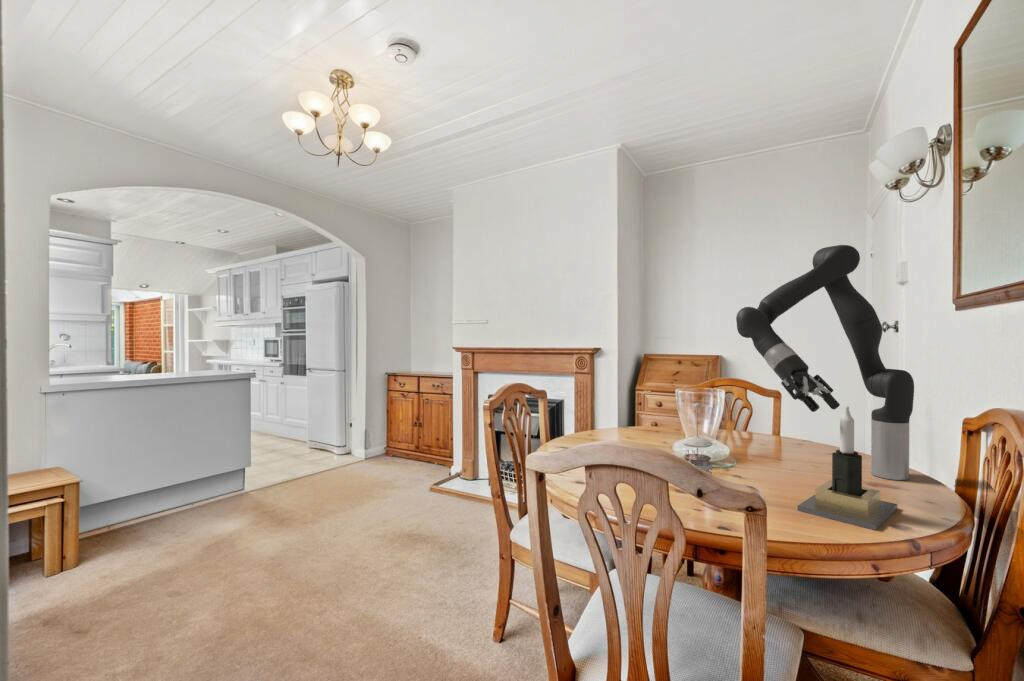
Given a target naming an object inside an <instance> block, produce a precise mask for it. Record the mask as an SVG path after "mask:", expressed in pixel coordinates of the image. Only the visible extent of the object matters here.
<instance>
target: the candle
mask: <svg viewBox="0 0 1024 681" xmlns="http://www.w3.org/2000/svg"><path fill="white" fill-rule="evenodd" d="M844 408H845V410H844V412H843V414H842V416H841V417H840V418H839V449H836V450H835V451H834V452H832V453H831V455H832V456H831V458H832V459H831V461H832V462H831V468H832V469H831V476H832V477H831V481H832V491H837V492H841V493H846V494H850V495H855V496H862V487H863V456H862V455H861V454H859V452H858V451H855V419H854V418H853V416H852V415H851V412H850V407H849V406H848V405H846V406H845V407H844Z"/></svg>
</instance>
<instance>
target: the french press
mask: <svg viewBox="0 0 1024 681" xmlns="http://www.w3.org/2000/svg"><path fill="white" fill-rule="evenodd" d="M701 407H702V406H701V404H700V403H699V402H696V403H694V404H693V408H695V409H696V436H691V437H688V438H686V439H684V440H682V444H683V445H684V446H687V447H690V448H696V453H695V450H692V452H691V453H690V450H689V449H686V452H685V453H684V455H683V460H684V459H685V460H687V461H689V462H691V463H692V464H694V465H695V466H697V467H698V468H700V469H701V470H704V471H706V472H708V473H710V474H709V475H711V474H712V475H713V472H712V471H713V463H712V462H711V459H712V457H711V456H709V455H705V454H702V453H701V454H699V448H711V446H713V442H711V441H710V440H708V439H707V438H705V437H700V436H699V432H698V431H699V429H698V428H699V425H698V424H699V421H698V420H699V418H698V416H699V415H698V413H699V409H701ZM710 470H711V471H710Z"/></svg>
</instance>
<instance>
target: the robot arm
mask: <svg viewBox="0 0 1024 681" xmlns="http://www.w3.org/2000/svg"><path fill="white" fill-rule="evenodd" d="M860 260H861V256H860V252H859V251H858V249H857V248H855V247H854V246H851V245H848V244H838V245H832V246H826V247H823V248H820V249H818V250H817V251H816V252H815V253H814V255H813V257H812V269H811V270H809V271H807V272H806V273H804V274H801V275H800V276H798V277H796V278H794V279H792V280H789V281H788V282H786V283H784V284H782V285H781V286H779V287H777V288H775V289H774V290H773V291H772V292H769V294H767V295H766V296H764V297H763V298H762V299H761V300H760V302H759V305H758V306H757V308H756V307H754V306H753V307H752V306H746V307H745V306H744V307H742V308H740V310H738V312H737V313H736V318H735V320H736V330H737V333H738V334H739V335H740V336H741V337H743V338H746V339H751V340H752V344H753V347H754V348H755V350H756V351H757V352H758V353H759V354H760V355H761V356H762V357H763V359H764V361H766V364H767V365H768V367H770V368H771V370H773V371H772V372H774V373H775V374H776V375H777V376H778V377H779V379H780V380H781V382H780V383H781V385H782V387H783V388H784V390H786V392H788V394H789V395H790V397H791V398H792V399H793V400H794V401H795V400H799V401H800V402H803V404H805V405H806V407H807V408H808V410H810V411H811V412H812V413H815V412H817V411H818V410H819V409H820V405H819V404H818V403H817V402H816V401H815V399H814V398H813V397H812V396H811V395H809V393H810V394H812V395H813V396H818V397H820V398H821V399H822V400H823V401H824V402H825V403H826V405H828V407H829V408H830V409H831V410H836V409H838V407H840V405H841V404H840V403H839V401H837V400H836V398H835V397H834V396H833V395H832V393H834V389H833V388H832V387H831V386H830V385H829V384H828V383H827V382H826V381H825V380H824V379H823V378H822V377H821V376H820V374H815V375H814V376H812V375H811V374H809V366H808V364H807V363H806V362H805V361H804V360H803V359H802V357H800V356H799V354H797V352H796V351H794V349H793V348H792V347H790V346H789V344H787V343H786V342H785V341H784V340H783V339H782V338H781V337H780V335H778V334H777V333H776V331H775V330H774V329H773V327H772V324H773V322H775V321H776V319H778V317H780V316H781V315H784V313H786V312H787V311H789V310H790V309H792V308H793V307H794V306H797V304H799V303H800V302H802V300H804V299H806V298H808V296H810V295H812V294H814V293H815V292H817V291H819V290H820V289H822V288H824V289H825V291H826V292H827V295H828V296H829V299H830V301H831V304H832V305H833V308H834V310H835V312H836V315H837V316H838V319H839V322H840V324H841V326H842V328H843V331H844V334H845V335H846V338H847V339H848V341H849V344H850V346H851V348H852V352H853V354H854V356H855V359H856V361H857V365H858V367H859V371H860V374H861V378H862V381H863V383H864V387H865V388H866V390H867V392H868V393H869V394H871V395H872V396H874V397H875V398H876V397H877V398H883V399H884V404H883V406H882V407H880V408H876V409H875V408H874V409H873V410H872V411H871V418H870V419H871V422H870V423H871V424H870V425H871V426H870V427H871V430H870V431H871V433H870V434H871V436H870V442H871V443H870V444H871V445H870V446H871V447H870V448H871V449H870V453H871V454H870V455H871V456H870V457H871V460H870V470H871V471H870V473H871V475H873V476H875V477H877V478H881V479H886V480H894V481H907V480H909V479H910V418H911V416H912V413H913V410H914V398H915V397H914V396H915V381H914V378H913V376H912V375H911V373H909V371H906V370H903V369H896V368H886V367H885V365H884V364H883V361H882V359H881V356H880V352H879V351H880V350H879V348H880V343H881V340H882V336H883V326H882V323H881V320H880V319H879V317H878V316H879V315H878V314H877V311H876V310H875V308H874V307H873V305H872V304H871V303H870V302H869V301H868V300H867V299H866V297H864V296H863V295H862V294H861V293H860V292H859V291H858V290H857V289H856V288H855V287H854V286H853V285H852V283H851V280H850V278H849V276H848V275H849V274H852V273H853V272H854V271H855V270H856V269H857V267H859V264H860Z"/></svg>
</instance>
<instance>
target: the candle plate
mask: <svg viewBox="0 0 1024 681" xmlns="http://www.w3.org/2000/svg"><path fill="white" fill-rule="evenodd" d="M814 490H815V491H814V492H815V494H813V495H812V496H811V497H809V498H808V499H806V500H804V501H803V502H801V503H799V504H798V505H797V511H799V512H802V513H807V514H810V515H815V516H819V517H822V518H826V519H829V520H834V521H838V522H842V523H844V524H845V523H846V524H849V525H853V526H858V527H862V528H865V529H869V530H872V531H876V530H877V531H878V529H879V528H880V527H881V526H882V524H884V523H885V522H886V520H888V518H890V517H891V516H892V515H893V514H894V513H895V512H896V511H897V509H898V503H895V502H890V501H886V500H881V490H880V489H874V488H870V487H865V486H864V487H863V486H862V496H855V495H850V494H846V493H841V492H837V491H832V479H831V480H830V479H829V480H828V481H827V482H825V483H823V484H821V485H819V486H818V487H817V488H815V489H814Z"/></svg>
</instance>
